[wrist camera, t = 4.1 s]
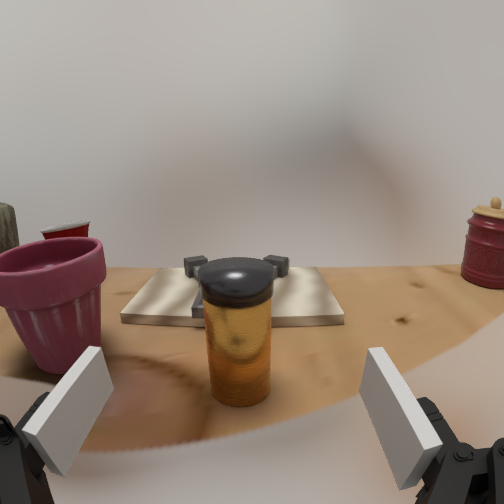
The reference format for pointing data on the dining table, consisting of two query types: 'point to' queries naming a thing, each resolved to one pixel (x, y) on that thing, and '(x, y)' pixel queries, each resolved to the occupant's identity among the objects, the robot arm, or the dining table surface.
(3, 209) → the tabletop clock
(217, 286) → the orange translucent cylinder
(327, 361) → the dining table surface
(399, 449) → the robot arm
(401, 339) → the dining table surface
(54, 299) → the plant pot
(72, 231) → the plastic cup
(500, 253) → the canister
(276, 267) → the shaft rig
